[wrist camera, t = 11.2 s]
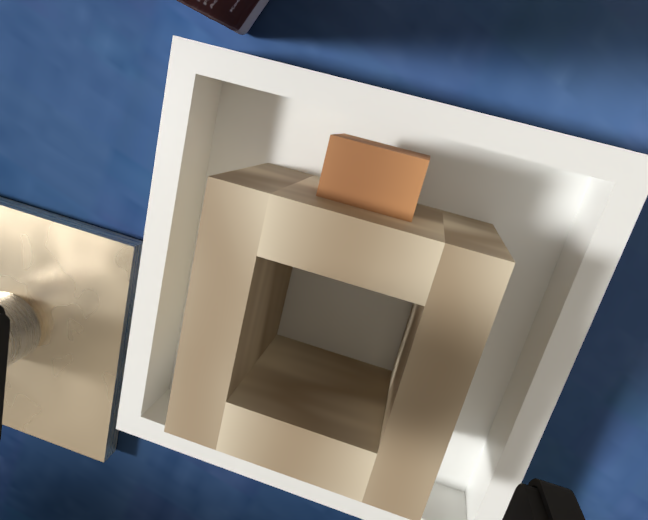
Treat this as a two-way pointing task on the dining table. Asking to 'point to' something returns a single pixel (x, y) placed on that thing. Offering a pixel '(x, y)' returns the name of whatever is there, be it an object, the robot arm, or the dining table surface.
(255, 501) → the dining table surface
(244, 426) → the collar
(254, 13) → the supplement box
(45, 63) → the dining table surface
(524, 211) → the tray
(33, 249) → the square lid with knob
